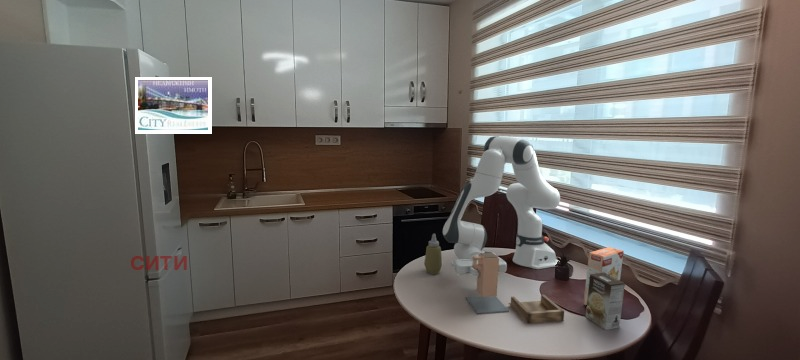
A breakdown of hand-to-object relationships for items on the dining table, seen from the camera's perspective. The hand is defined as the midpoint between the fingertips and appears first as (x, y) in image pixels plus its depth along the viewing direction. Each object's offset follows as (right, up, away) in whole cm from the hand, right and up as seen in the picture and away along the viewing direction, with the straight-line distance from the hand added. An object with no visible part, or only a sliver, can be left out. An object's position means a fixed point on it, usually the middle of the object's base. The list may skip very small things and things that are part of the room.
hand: (488, 274), depth 134 cm
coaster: (0, -12, +2) cm, 12 cm away
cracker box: (+44, -13, +4) cm, 46 cm away
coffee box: (+37, -14, -9) cm, 41 cm away
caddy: (+16, -13, -2) cm, 21 cm away
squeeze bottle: (-17, -7, +32) cm, 37 cm away
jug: (-2, -7, +1) cm, 8 cm away
